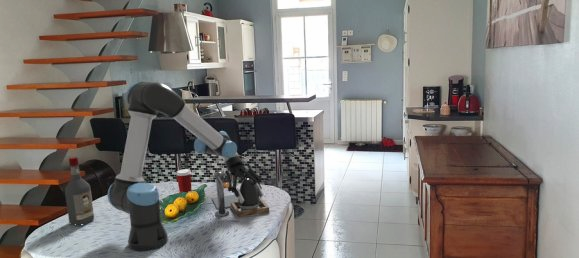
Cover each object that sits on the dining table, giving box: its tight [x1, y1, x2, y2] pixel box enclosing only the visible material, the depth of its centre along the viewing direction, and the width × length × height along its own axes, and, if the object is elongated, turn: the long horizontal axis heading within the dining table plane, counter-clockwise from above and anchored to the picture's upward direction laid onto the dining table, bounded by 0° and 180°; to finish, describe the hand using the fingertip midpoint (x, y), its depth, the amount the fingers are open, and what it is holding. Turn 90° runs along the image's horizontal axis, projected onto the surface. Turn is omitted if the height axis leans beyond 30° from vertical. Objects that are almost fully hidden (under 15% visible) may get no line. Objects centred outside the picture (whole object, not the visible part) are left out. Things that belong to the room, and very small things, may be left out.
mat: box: [211, 194, 238, 211], centre depth 227 cm, size 16×16×1 cm
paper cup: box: [175, 168, 192, 194], centre depth 236 cm, size 8×8×14 cm
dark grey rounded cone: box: [238, 178, 260, 211], centre depth 214 cm, size 10×10×15 cm
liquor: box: [64, 156, 95, 226], centre depth 208 cm, size 9×9×30 cm
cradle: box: [230, 197, 270, 219], centre depth 215 cm, size 15×15×2 cm
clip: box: [213, 170, 229, 189], centre depth 200 cm, size 21×4×2 cm, turn 18°
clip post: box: [214, 177, 230, 218], centre depth 209 cm, size 6×6×18 cm
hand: (252, 199), depth 212 cm, fingers open, 10 cm apart
